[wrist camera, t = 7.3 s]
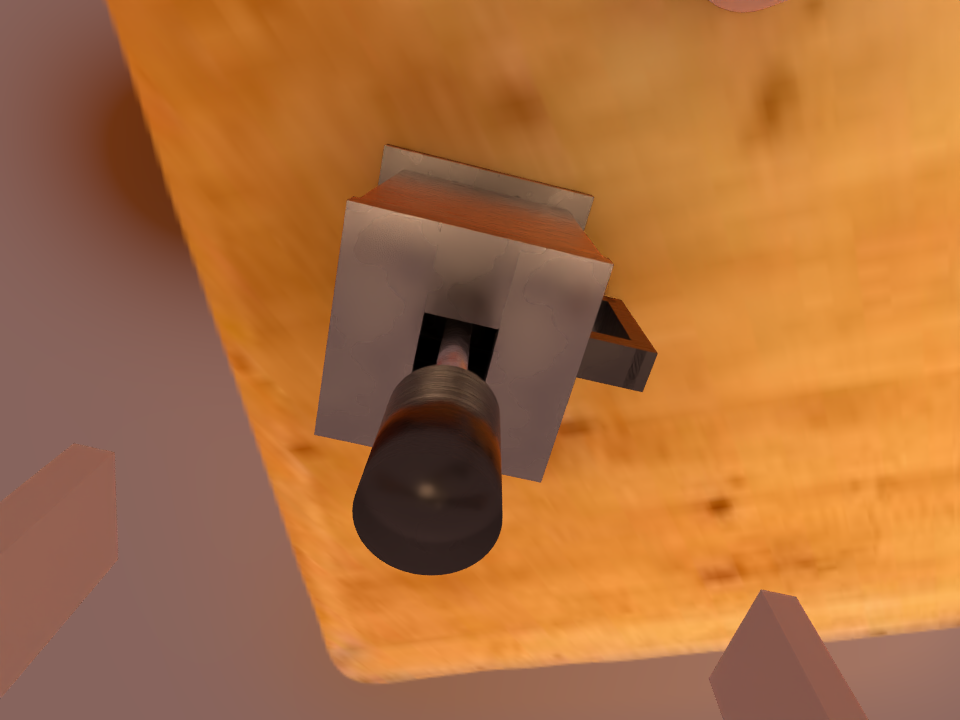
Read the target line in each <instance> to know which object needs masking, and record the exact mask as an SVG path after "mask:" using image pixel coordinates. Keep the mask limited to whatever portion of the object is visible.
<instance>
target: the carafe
mask: <svg viewBox="0 0 960 720" xmlns="http://www.w3.org/2000/svg"><path fill="white" fill-rule="evenodd" d="M593 199H594V197H593V196H592V195H589V194H585V193H581V192H577V191H573V190H569V189H565V188H561V187H557V186H553V185H549V184H545V183H541V182H537V181H533V180H529V179H525V178H521V177H517V176H513V175H509V174H505V173H501V172H497V171H493V170H489V169H485V168H481V167H477V166H473V165H469V164H465V163H461V162H457V161H453V160H449V159H445V158H441V157H437V156H433V155H429V154H425V153H421V152H417V151H413V150H409V149H405V148H401V147H397V146H393V145H389V144H387V145H384V152H383V158H382V164H381V170H380V177H379V183H378V186H377V187H376V188H374V189H373V190H371V191H370V192H368V193H367V194H365V195H364V196H362V197H361V198H358V197H354V196H353V197H351V198H350V199H348V200H347V204H346V211H345V219H344V226H343V233H342V240H341V247H340V254H339V262H338V269H337V276H336V283H335V290H334V297H333V305H332V312H331V319H330V326H329V333H328V340H327V347H326V355H325V362H324V369H323V376H322V383H321V390H320V398H319V405H318V412H317V419H316V426H315V433H314V435H318V436H323V437H328V438H332V439H337V440H342V441H347V442H351V443H356V444H361V445H366V446H370V447H373V444H374V441H375V438H376V436H377V433H378V430H379V427H380V425H381V422H382V419H383V416H384V413H385V411H386V408H387V405H388V402H389V400H390V397H391V395H392V392H393V391H394V389H395V388H396V386H397V385H398V384H399V383H400V381H401V380H403V379H404V378H405V377H406V376H407V375H409V374H410V373H412V372H414V371H416V370H418V369H421V368H424V367H427V366H432V365H436V363H437V359H438V354H439V350H440V345H441V341H442V339H440V338H438V337H436V336H434V335H432V334H430V333H429V332H427V331H426V330H425V329H423V328H422V325H423V320H424V315H425V313H430V314H434V315H438V316H443V317H447V318H451V319H456V320H460V321H464V322H469V323H473V324H477V325H482V326H486V327H491V328H495V329H497V331H496V335H495V338H494V339H491V340H488V341H485V342H481V343H474V344H470V349H469V359H468V369H467V370H468V371H470V372H472V373H474V374H476V375H477V376H478V377H480V378H481V379H482V380H483V381H485V382H486V383H487V384H488V386H489V387H490V388H491V390H492V391H493V393H494V394H495V396H496V399H497V401H498V404H499V408H500V429H501V474H503V475H508V476H513V477H517V478H522V479H527V480H531V481H536V482H541V481H542V478H543V475H544V472H545V469H546V466H547V463H548V460H549V457H550V454H551V451H552V448H553V445H554V442H555V439H556V436H557V433H558V430H559V427H560V424H561V421H562V418H563V415H564V412H565V409H566V406H567V403H568V400H569V397H570V394H571V391H572V388H573V385H574V382H575V379H576V377H578V378H582V379H586V380H591V381H595V382H600V383H604V384H609V385H613V386H617V387H622V388H626V389H631V390H635V391H640V392H643V390H644V387H645V384H646V382H647V379H648V377H649V374H650V372H651V369H652V367H653V364H654V361H655V359H656V356H657V354H658V353H657V352H656V350H655V349H654V348H653V346H652V345H651V343H650V342H649V340H648V339H647V337H646V336H645V334H644V333H643V331H642V330H641V328H640V327H639V325H638V324H637V322H636V321H635V319H634V318H633V316H632V315H631V313H630V312H629V310H628V309H627V308H626V306H625V305H624V303H623V302H622V300H619V299H615V298H611V297H606V296H603V295H604V292H605V289H606V286H607V283H608V280H609V277H610V274H611V271H612V268H613V265H614V264H613V263H612V262H611V260H610V259H609V258H606V257H603V256H602V255H601V254H600V252H599V251H598V250H597V248H596V247H595V246H594V244H593V243H592V242H591V240H590V239H589V238H588V236H587V235H586V234H585V232H584V229H585V225H586V222H587V219H588V216H589V212H590V209H591V206H592V203H593Z"/></svg>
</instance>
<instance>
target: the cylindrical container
mask: <svg viewBox="0 0 960 720" xmlns="http://www.w3.org/2000/svg"><path fill="white" fill-rule="evenodd" d="M709 1H710V2H712V3H713V4H715V5H716V6H718V7H720V8H723V9H726V10H729V11H735V12H753V11H758V10H761V9H764V8H768V7H771V6H773V5H776V4H779V3H781V2H784V1H787V0H709Z"/></svg>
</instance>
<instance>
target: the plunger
mask: <svg viewBox="0 0 960 720" xmlns="http://www.w3.org/2000/svg"><path fill="white" fill-rule="evenodd" d="M422 328H423V329H425V330H426V331H427V332H429V333H430V334H432V335H434V336H436V337H438V338H440V339H442V341H441V345H440V350H439V354H438V359H437V363H436V365H432V366H427V367H424V368H421V369H418V370H416V371H414V372H412V373H410V374H409V375H407V376H406V377H405V378H404V379H403V380H401V381H400V383H399V384H398V385H397V386H396V388H395V389H394V391H393V392H392V395H391V397H390V400H389V402H388V405H387V408H386V411H385V413H384V416H383V419H382V422H381V425H380V427H379V430H378V433H377V436H376V438H375V441H374V444H373V447H372V450H371V452H370V455H369V458H368V461H367V463H366V466H365V469H364V472H363V475H362V477H361V480H360V483H359V486H358V488H357V491H356V494H355V498H354V501H353V510H352V512H353V521H354V525H355V528H356V531H357V533H358V535H359V537H360V539H361V541H362V542H363V543H364V545H365V546H366V547H367V548H368V549H369V550H370V551H371V552H372V553H373V554H374V555H375V556H376V557H377V558H379V559H380V560H382V561H383V562H385V563H386V564H388V565H390V566H392V567H394V568H397V569H399V570H402V571H405V572H409V573H413V574H420V575H443V574H449V573H453V572H457V571H460V570H463V569H465V568H468V567H470V566H471V565H473V564H475V563H476V562H478V561H479V560H481V559H482V558H483V557H484V556H485V555H486V554H487V553H488V552H489V551H490V550H491V549H492V547H493V546H494V544H495V543H496V541H497V539H498V537H499V534H500V531H501V527H502V474H501V429H500V408H499V404H498V401H497V399H496V396H495V394H494V393H493V391H492V390H491V388H490V387H489V386H488V384H487V383H486V382H485V381H483V380H482V379H481V378H480V377H478V376H477V375H476V374H474V373H472V372H470V371H468V370H467V369H468V359H469V349H470V344H474V343H481V342H485V341H488V340H491V339H494V338H495V335H496V331H497V329H495V328H491V327H486V326H482V325H477V324H473V323H469V322H464V321H460V320H456V319H451V318H447V317H443V316H438V315H434V314H430V313H425V315H424V320H423V325H422Z"/></svg>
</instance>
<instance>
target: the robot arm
mask: <svg viewBox="0 0 960 720" xmlns="http://www.w3.org/2000/svg"><path fill="white" fill-rule="evenodd" d="M115 483H116V482H115V453H114V452H112V451H107V450H102V449H97V448H93V447H88V446H83V445H79V444H73V445H71V446H70V447H69V448H68V449H67V450H65V451H64V452H63V453H61V454H60V455H59V456H58V457H56V458H55V459H54V460H53V461H51V462H50V463H49V464H47V465H46V466H45V467H44V468H42V469H41V470H40V471H39V472H37V473H36V474H35V475H34V476H32V477H31V478H30V479H29V480H27V481H26V482H25V483H23V484H22V485H21V486H20V487H18V488H17V489H16V490H15V491H13V492H12V493H11V494H10V495H8V496H7V497H6V498H5V499H3V500H2V501H1V502H0V699H1V697H2V696H3V695H4V694H5V693H6V692H7V690H8V689H9V688H10V687H11V686H12V684H13V683H14V682H15V681H16V679H18V677H19V676H20V675H21V674H22V673H23V671H24V670H25V669H26V668H27V667H28V665H29V664H30V663H31V662H32V661H33V659H34V658H35V657H36V656H37V655H38V654H39V652H40V651H41V650H42V649H43V647H45V645H46V644H47V643H48V642H49V641H50V639H51V638H52V637H53V636H54V635H55V633H56V632H57V631H58V630H59V629H60V628H61V626H62V625H63V624H64V623H65V621H66V620H67V619H68V618H69V617H70V615H72V613H73V612H74V611H75V610H76V609H77V607H78V606H79V605H80V604H81V603H82V601H83V600H84V599H85V598H86V597H87V595H88V594H89V593H90V592H91V591H92V590H93V588H94V587H95V586H96V585H97V584H98V583H99V581H100V580H101V579H102V578H103V577H104V575H105V574H106V573H107V572H108V571H109V569H110V568H111V567H112V566H113V565H114V564H115V562H116V561H117V560H118V544H117V543H118V542H117V514H116V486H115V485H116V484H115ZM709 681H710V683H711V686H712V689H713V692H714V695H715V697H716V700H717V703H718V706H719V709H720V711H721V714H722V717H723V720H868V718H867V716H866V715H865V713H864V711H863V710H862V708H861V706H860V704H859V703H858V701H857V699H856V698H855V696H854V694H853V692H852V691H851V689H850V687H849V686H848V684H847V682H846V681H845V679H844V678H843V676H842V674H841V672H840V671H839V669H838V667H837V665H836V664H835V662H834V660H833V659H832V657H831V655H830V654H829V652H828V650H827V648H826V647H825V645H824V643H823V642H822V640H821V638H820V637H819V635H818V633H817V631H816V630H815V628H814V626H813V625H812V623H811V621H810V620H809V618H808V616H807V614H806V613H805V611H804V609H803V608H802V606H801V604H800V603H799V601H798V599H797V598H796V597H794V596H789V595H785V594H780V593H775V592H770V591H766V590H760V592H759V594H758V596H757V597H756V599H755V601H754V602H753V604H752V606H751V607H750V609H749V611H748V613H747V614H746V616H745V618H744V619H743V621H742V623H741V624H740V626H739V628H738V630H737V631H736V633H735V635H734V636H733V638H732V640H731V641H730V643H729V645H728V647H727V648H726V650H725V652H724V653H723V655H722V657H721V658H720V660H719V662H718V664H717V665H716V667H715V669H714V671H713V672H712V674H711V676H710V677H709Z"/></svg>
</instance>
